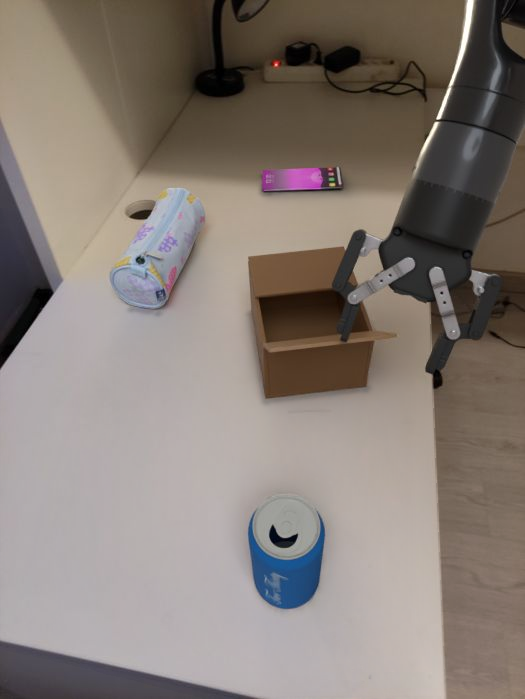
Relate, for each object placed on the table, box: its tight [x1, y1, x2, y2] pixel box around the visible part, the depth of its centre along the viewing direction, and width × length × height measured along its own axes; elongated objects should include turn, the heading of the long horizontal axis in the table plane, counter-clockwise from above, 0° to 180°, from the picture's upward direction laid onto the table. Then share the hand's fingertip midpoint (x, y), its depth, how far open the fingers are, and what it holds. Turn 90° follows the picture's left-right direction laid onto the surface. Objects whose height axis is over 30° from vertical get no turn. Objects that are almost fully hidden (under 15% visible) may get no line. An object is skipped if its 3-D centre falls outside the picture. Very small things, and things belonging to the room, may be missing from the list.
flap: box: [263, 329, 399, 353], centre depth 57 cm, size 8×13×1 cm
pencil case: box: [109, 187, 206, 310], centre depth 82 cm, size 21×9×10 cm, turn 166°
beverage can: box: [247, 492, 326, 610], centre depth 49 cm, size 6×6×12 cm
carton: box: [247, 246, 375, 400], centre depth 70 cm, size 16×13×10 cm
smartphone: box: [261, 166, 344, 193], centre depth 102 cm, size 7×15×1 cm, turn 89°
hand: (386, 355), depth 52 cm, fingers open, 8 cm apart
